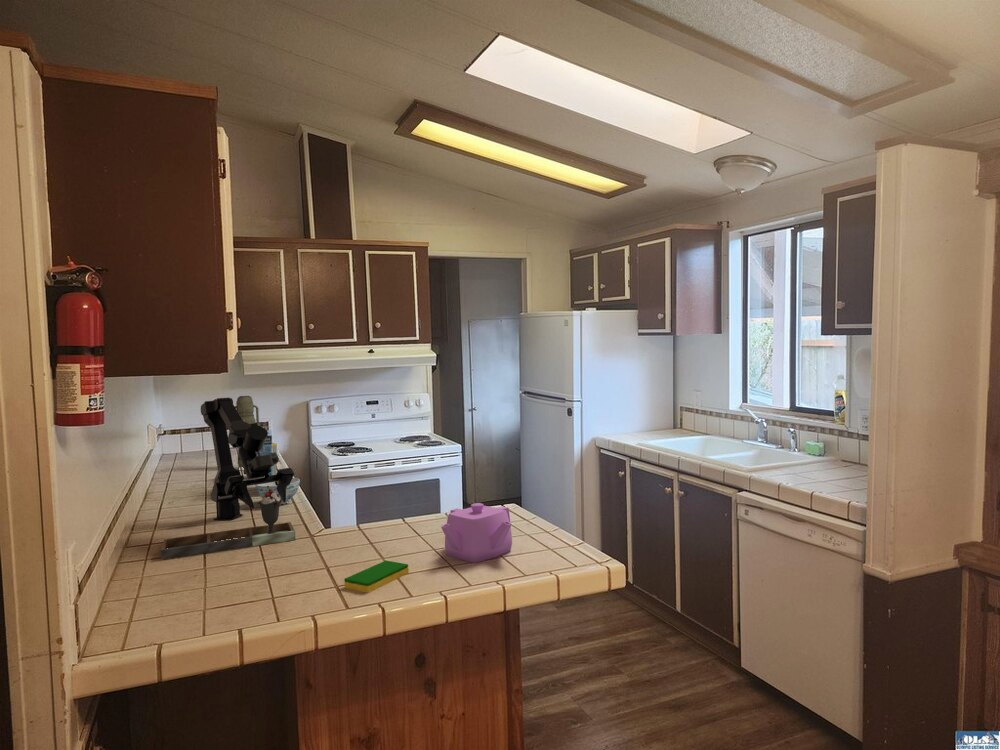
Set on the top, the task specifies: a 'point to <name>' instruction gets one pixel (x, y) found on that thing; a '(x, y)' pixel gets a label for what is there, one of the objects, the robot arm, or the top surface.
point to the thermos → (246, 413)
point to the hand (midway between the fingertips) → (269, 504)
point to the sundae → (270, 509)
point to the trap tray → (207, 544)
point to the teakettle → (478, 533)
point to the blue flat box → (268, 448)
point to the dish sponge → (376, 576)
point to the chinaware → (290, 491)
